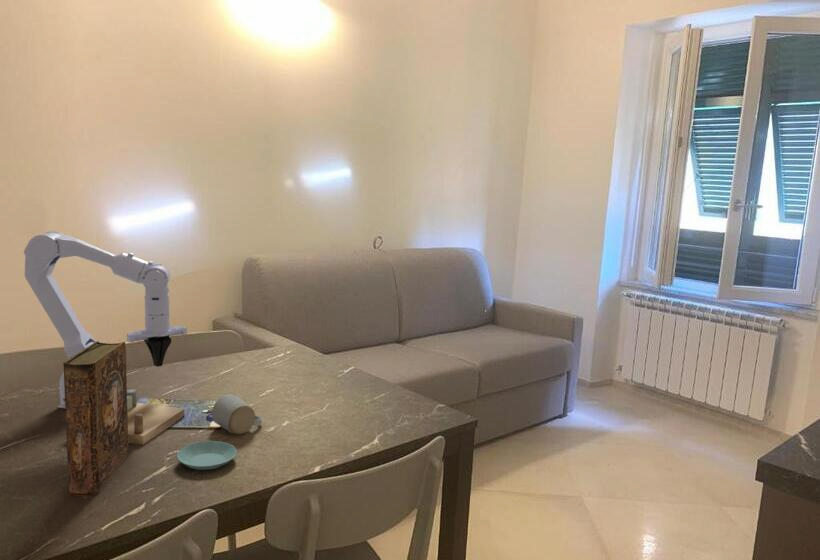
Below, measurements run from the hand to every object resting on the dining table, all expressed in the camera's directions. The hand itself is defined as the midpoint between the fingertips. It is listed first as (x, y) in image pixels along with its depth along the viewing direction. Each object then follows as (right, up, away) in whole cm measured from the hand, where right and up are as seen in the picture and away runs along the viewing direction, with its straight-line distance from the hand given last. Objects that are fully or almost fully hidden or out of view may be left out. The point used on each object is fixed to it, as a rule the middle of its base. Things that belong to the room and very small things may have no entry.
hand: (158, 365), depth 161 cm
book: (+3, -17, -37) cm, 41 cm away
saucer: (+22, -17, -29) cm, 40 cm away
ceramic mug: (+24, -14, -12) cm, 30 cm away
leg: (-5, -10, -13) cm, 17 cm away
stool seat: (-1, -12, -13) cm, 18 cm away
